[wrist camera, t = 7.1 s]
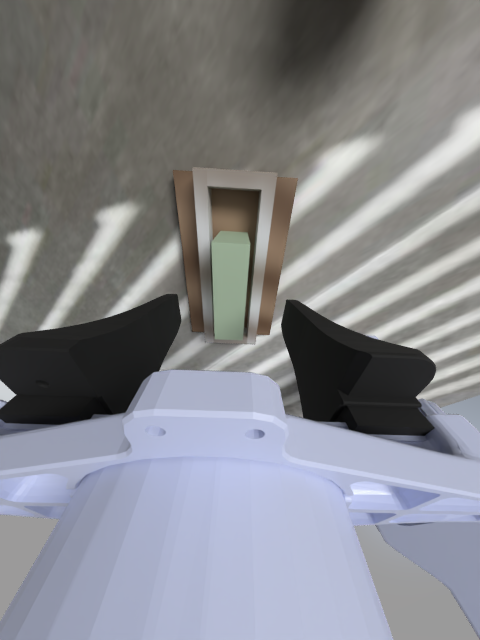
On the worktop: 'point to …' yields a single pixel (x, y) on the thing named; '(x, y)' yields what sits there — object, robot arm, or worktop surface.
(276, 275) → the track base
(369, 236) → the worktop surface
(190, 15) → the worktop surface
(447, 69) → the worktop surface
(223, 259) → the pale green rectangular block
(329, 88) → the worktop surface
